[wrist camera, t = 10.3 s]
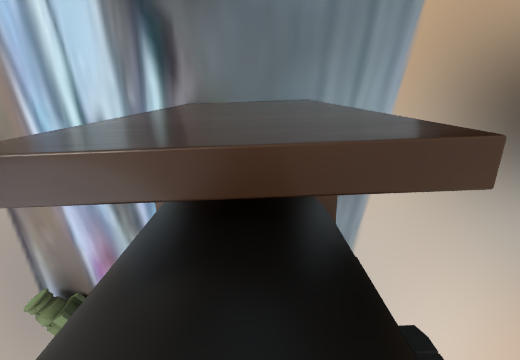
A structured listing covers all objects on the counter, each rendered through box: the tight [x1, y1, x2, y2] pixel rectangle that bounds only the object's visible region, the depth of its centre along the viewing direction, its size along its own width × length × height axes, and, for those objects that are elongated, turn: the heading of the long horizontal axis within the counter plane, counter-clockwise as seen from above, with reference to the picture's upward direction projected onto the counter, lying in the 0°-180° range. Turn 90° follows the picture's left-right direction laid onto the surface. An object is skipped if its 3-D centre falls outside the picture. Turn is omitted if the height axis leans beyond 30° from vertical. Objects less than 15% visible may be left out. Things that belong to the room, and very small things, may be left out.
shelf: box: [0, 100, 506, 224], centre depth 18 cm, size 14×12×22 cm
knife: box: [23, 288, 86, 336], centre depth 34 cm, size 4×18×5 cm
